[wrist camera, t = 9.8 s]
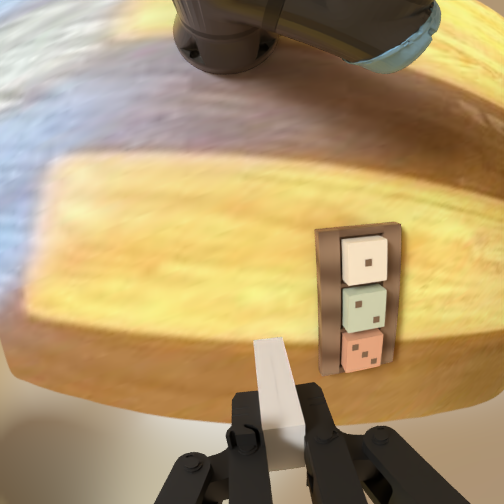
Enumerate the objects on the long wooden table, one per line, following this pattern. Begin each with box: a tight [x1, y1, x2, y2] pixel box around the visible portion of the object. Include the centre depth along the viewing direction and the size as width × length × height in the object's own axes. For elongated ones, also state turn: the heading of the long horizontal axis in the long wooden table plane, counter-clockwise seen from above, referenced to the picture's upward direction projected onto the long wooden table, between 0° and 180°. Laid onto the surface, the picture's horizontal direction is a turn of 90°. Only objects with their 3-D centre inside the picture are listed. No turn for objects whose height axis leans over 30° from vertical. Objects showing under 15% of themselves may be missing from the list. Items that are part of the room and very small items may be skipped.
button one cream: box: [341, 235, 387, 286], centre depth 43 cm, size 6×6×3 cm
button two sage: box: [342, 283, 387, 333], centre depth 45 cm, size 6×6×3 cm
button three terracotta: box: [341, 328, 383, 373], centre depth 46 cm, size 6×6×3 cm
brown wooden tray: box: [315, 222, 401, 376], centre depth 46 cm, size 24×13×2 cm, turn 6°
